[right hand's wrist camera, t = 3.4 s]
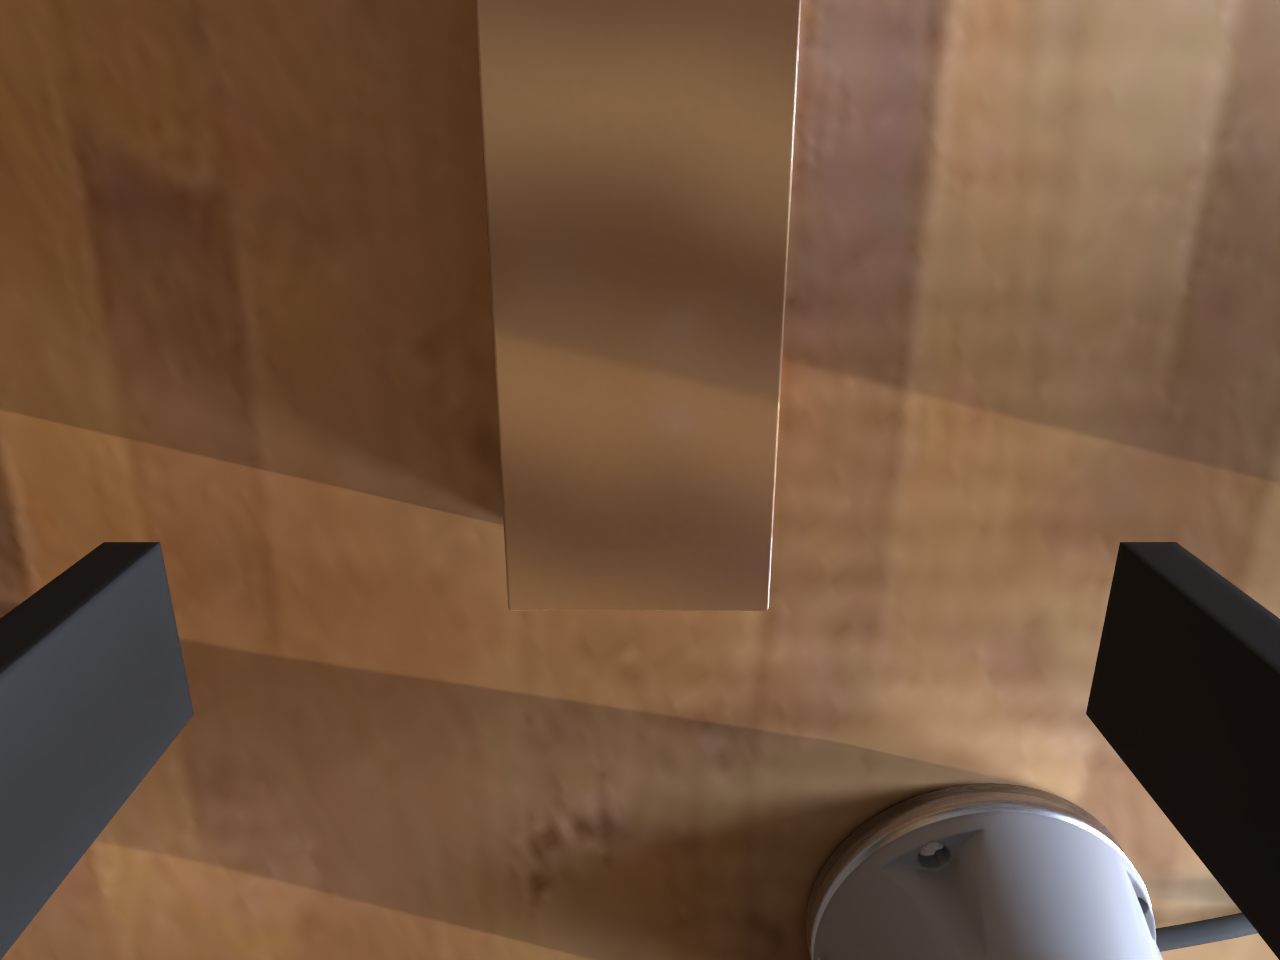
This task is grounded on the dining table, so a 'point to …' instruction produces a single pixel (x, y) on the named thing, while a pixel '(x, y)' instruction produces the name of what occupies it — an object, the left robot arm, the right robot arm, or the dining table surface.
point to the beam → (638, 293)
